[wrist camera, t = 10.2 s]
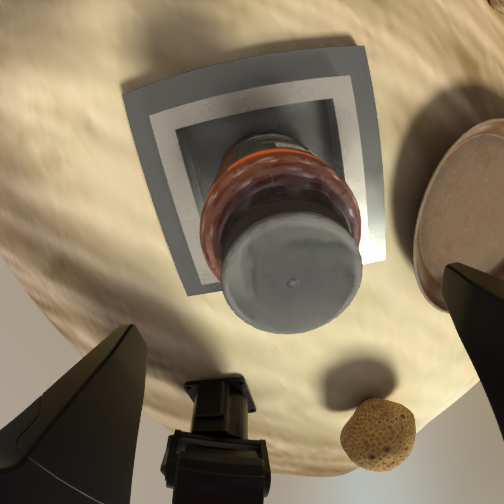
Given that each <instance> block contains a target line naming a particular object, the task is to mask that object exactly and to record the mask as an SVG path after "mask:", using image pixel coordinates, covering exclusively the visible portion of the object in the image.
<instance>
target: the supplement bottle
mask: <svg viewBox="0 0 504 504" xmlns="http://www.w3.org/2000/svg"><path fill="white" fill-rule="evenodd" d="M199 235H200V243H201V248H202V252H203V255H204V258H205V260H206V263H207V265H208V266H209V268H210V270H211V271H212V273H213V274H214V276H215V277H216V278H217V279H218V281H219V282H220V283H221V287H222V291H223V294H224V297H225V299H226V301H227V303H228V305H229V306H230V307H231V309H232V310H233V311H234V313H235V314H236V315H237V316H238V317H239V318H241V319H242V320H243V321H244V322H246V323H247V324H249V325H251V326H253V327H254V328H257V329H259V330H262V331H266V332H270V333H275V334H296V333H304V332H307V331H310V330H313V329H316V328H319V327H321V326H323V325H325V324H327V323H329V322H330V321H332V320H333V319H334V318H336V317H337V316H339V315H340V314H341V313H342V312H343V311H344V310H345V309H346V308H347V307H348V306H349V305H350V303H351V302H352V300H353V298H354V297H355V296H356V293H357V291H358V289H359V287H360V283H361V278H362V256H361V253H360V250H359V246H360V241H361V235H362V220H361V213H360V209H359V207H358V203H357V200H356V198H355V197H354V194H353V192H352V191H351V189H350V188H349V186H348V185H347V183H346V182H345V181H344V179H343V178H342V177H341V176H340V175H339V174H338V173H337V172H336V171H335V170H334V169H333V168H331V167H330V166H329V165H328V164H327V163H326V162H324V161H323V160H322V159H321V158H319V157H318V156H317V155H315V154H314V153H313V152H312V151H310V150H309V149H308V148H306V147H305V146H304V145H302V144H301V143H300V142H298V141H297V140H295V139H293V138H292V137H289V136H287V135H284V134H281V133H276V132H259V133H254V134H251V135H248V136H246V137H244V138H243V139H241V140H239V141H238V142H237V143H235V144H234V145H233V146H232V147H231V148H230V149H229V150H228V152H227V153H226V154H225V156H224V157H223V159H222V161H221V163H220V166H219V168H218V170H217V173H216V175H215V177H214V180H213V183H212V185H211V187H210V190H209V192H208V195H207V198H206V200H205V203H204V206H203V209H202V213H201V218H200V233H199Z"/></svg>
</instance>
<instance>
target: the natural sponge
mask: <svg viewBox="0 0 504 504" xmlns="http://www.w3.org/2000/svg"><path fill="white" fill-rule="evenodd" d="M415 435H416V427H415V419H414V415H413V413H412V412H411V411H410V410H409V409H407V408H406V407H405V406H403V405H401V404H399V403H395V402H392V401H389V400H385V399H382V398H370V399H367V400H365V401H364V402H363V403H361V404H360V405H359V407H358V408H357V410H356V411H355V413H354V414H353V416H352V417H351V418H350V420H349V421H348V422H347V423H346V424H345V425H344V427H343V429H342V431H341V435H340V440H341V445H342V447H343V449H344V451H345V452H346V454H347V455H348V457H349V458H350V459H351V460H352V461H353V462H354V463H355V464H356V465H358V466H359V467H361V468H364V469H367V470H371V471H379V472H383V471H388V470H391V469H393V468H395V467H397V466H398V465H400V464H401V463H402V462H403V461H404V460H405V459H406V458H407V457H408V455H409V454H410V452H411V450H412V448H413V444H414V441H415Z"/></svg>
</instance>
